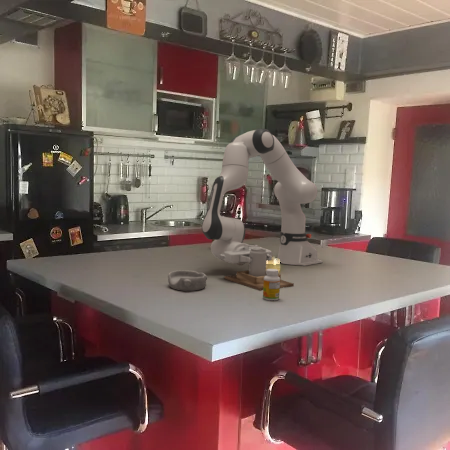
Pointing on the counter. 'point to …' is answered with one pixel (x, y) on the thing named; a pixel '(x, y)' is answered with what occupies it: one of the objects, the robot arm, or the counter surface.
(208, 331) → the counter surface
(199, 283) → the dish
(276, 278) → the supplement bottle
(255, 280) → the tray
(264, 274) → the beverage can
